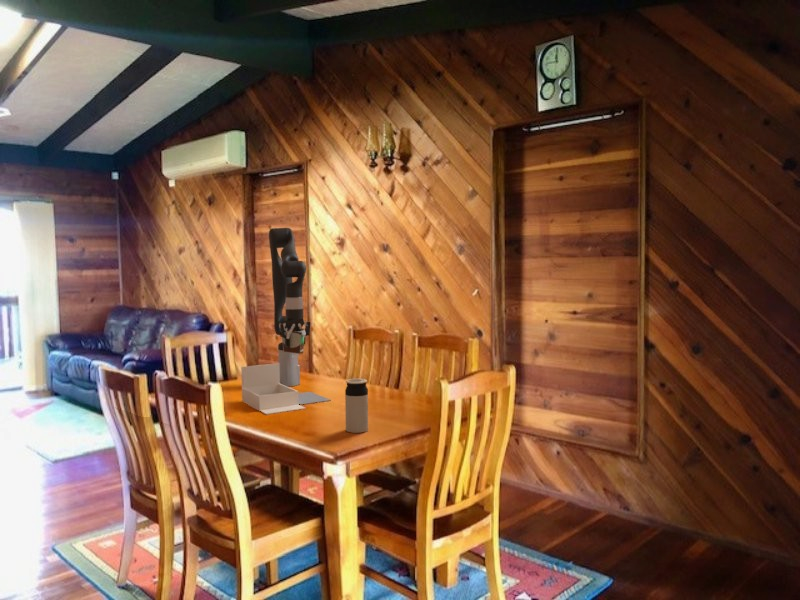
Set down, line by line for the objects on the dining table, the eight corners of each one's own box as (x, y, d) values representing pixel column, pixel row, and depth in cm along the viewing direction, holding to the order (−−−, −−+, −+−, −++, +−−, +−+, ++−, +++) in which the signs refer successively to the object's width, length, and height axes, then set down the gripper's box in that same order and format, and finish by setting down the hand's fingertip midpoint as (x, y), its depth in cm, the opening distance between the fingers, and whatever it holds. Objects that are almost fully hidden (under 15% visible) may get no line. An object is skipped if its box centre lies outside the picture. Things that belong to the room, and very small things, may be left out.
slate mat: (310, 392, 293) (310, 391, 293) (330, 400, 276) (330, 399, 276) (281, 396, 285) (281, 395, 285) (300, 405, 268) (300, 404, 268)
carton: (279, 396, 285) (278, 363, 284) (305, 408, 262) (305, 372, 261) (242, 401, 275) (241, 367, 274) (266, 414, 253) (265, 376, 252)
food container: (312, 352, 277) (311, 328, 276) (302, 354, 272) (302, 330, 271) (290, 349, 284) (290, 327, 283) (280, 351, 278) (280, 328, 277)
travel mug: (344, 433, 225) (344, 382, 224) (346, 427, 233) (346, 378, 232) (367, 433, 225) (367, 382, 224) (368, 427, 233) (368, 378, 232)
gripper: (306, 306, 282) (306, 344, 284) (275, 307, 275) (275, 347, 276) (313, 307, 276) (314, 346, 277) (281, 309, 268) (282, 349, 270)
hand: (295, 346), depth 277 cm, fingers closed on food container, 6 cm apart
